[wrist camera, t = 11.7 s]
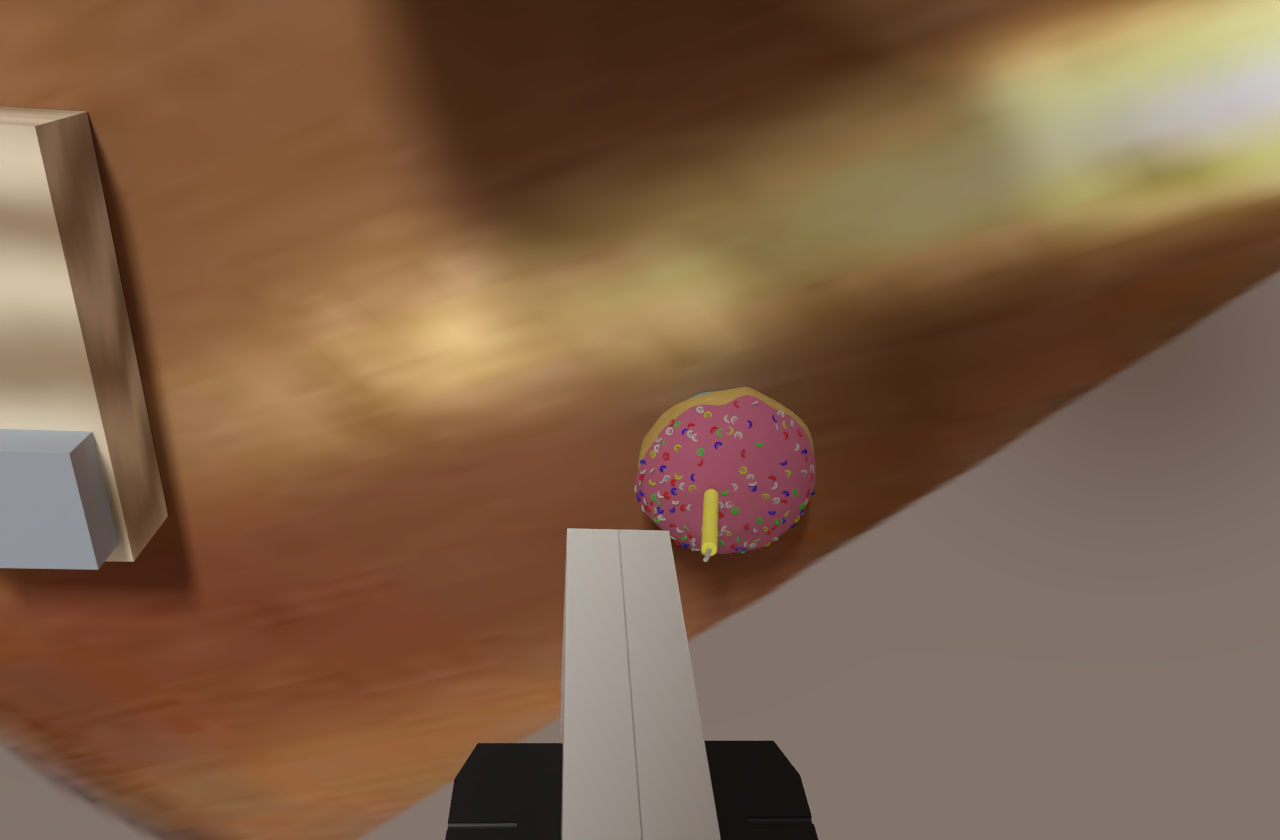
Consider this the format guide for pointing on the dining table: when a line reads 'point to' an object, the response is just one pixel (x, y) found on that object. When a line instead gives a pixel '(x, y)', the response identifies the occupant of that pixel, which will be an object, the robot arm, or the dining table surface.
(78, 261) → the beige flat box
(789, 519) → the cupcake
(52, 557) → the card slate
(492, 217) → the dining table surface
